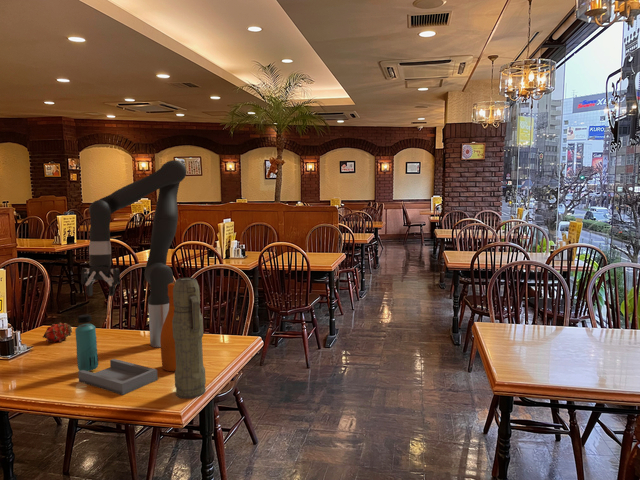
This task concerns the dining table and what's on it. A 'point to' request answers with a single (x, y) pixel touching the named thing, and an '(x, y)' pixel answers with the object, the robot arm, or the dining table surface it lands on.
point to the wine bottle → (168, 336)
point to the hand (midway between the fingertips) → (100, 295)
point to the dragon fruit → (58, 332)
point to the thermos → (188, 339)
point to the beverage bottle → (86, 344)
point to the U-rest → (119, 377)
